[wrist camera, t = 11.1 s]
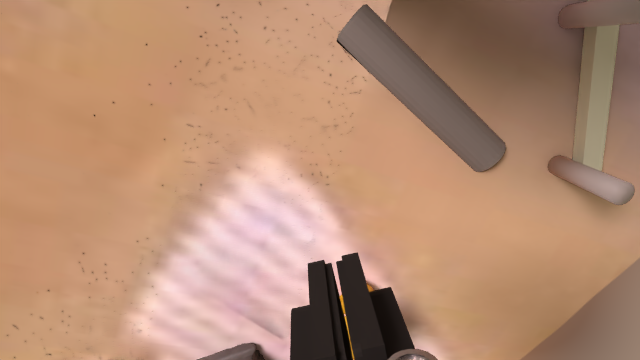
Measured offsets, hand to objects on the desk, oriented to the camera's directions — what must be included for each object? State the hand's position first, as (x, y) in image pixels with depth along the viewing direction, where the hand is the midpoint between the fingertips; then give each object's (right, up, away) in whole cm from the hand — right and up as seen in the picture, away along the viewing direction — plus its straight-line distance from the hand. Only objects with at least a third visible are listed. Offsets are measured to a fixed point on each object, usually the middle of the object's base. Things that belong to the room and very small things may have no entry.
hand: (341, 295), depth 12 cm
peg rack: (+24, +12, +23) cm, 35 cm away
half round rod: (+9, +12, +23) cm, 28 cm away
